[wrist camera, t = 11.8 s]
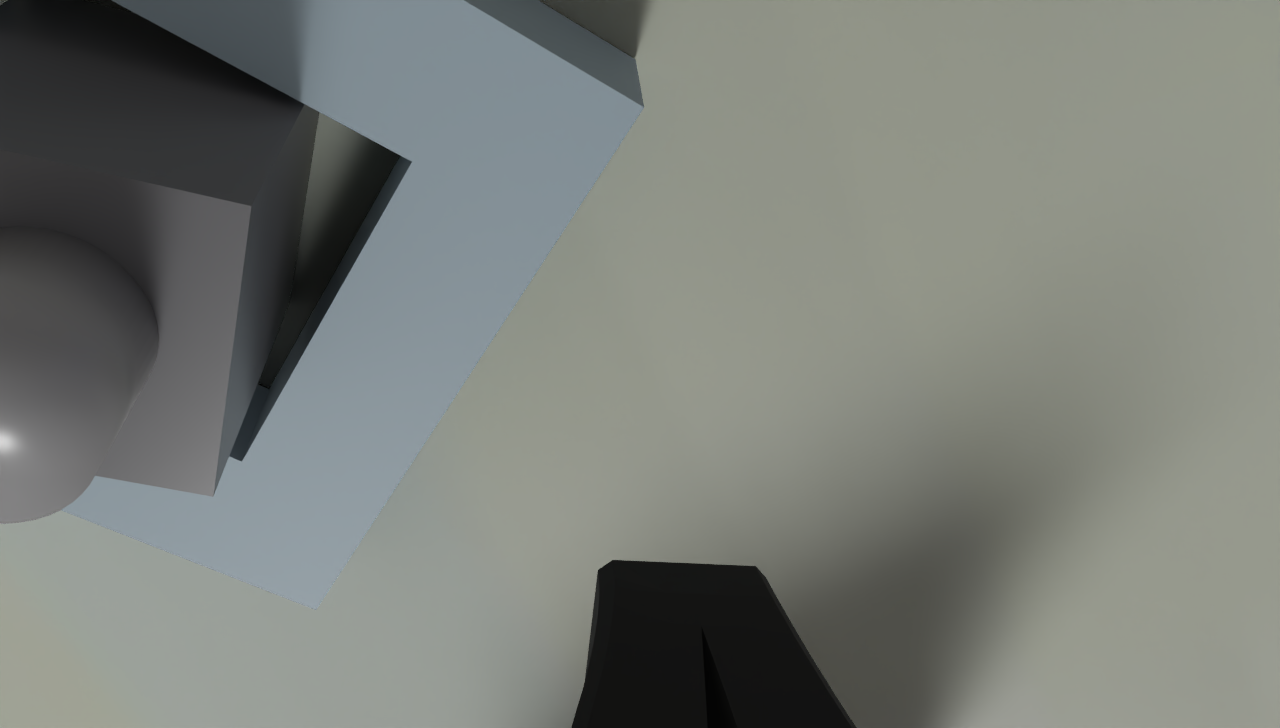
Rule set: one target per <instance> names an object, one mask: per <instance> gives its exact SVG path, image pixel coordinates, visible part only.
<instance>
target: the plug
mask: <svg viewBox="0 0 1280 728" xmlns="http://www.w3.org/2000/svg"><path fill="white" fill-rule="evenodd" d="M318 116H319V112H318V111H317V110H315V109H313V108H311V107H309V106H307V105H305V104H303V103H302V102H300V101H298V100H296V99H294V98H292V97H290V96H289V95H287V94H285V93H283V92H281V91H279V90H277V89H276V88H274V87H272V86H270V85H268V84H266V83H264V82H263V81H261V80H259V79H257V78H255V77H253V76H251V75H249V74H248V73H246V72H244V71H242V70H240V69H238V68H236V67H235V66H233V65H231V64H229V63H227V62H225V61H223V60H222V59H220V58H218V57H216V56H214V55H212V54H210V53H209V52H207V51H205V50H203V49H201V48H199V47H197V46H195V45H194V44H192V43H190V42H188V41H186V40H184V39H182V38H181V37H179V36H177V35H175V34H173V33H171V32H169V31H168V30H166V29H164V28H162V27H160V26H158V25H156V24H154V23H153V22H151V21H149V20H147V19H145V18H143V17H141V16H140V15H138V14H136V13H132V12H128V11H124V10H120V9H116V8H112V7H108V6H104V5H100V4H96V3H92V2H88V1H84V0H8V1H6V2H5V3H3V4H2V5H0V523H1V524H6V523H19V522H25V521H31V520H36V519H39V518H42V517H45V516H49V515H51V514H53V513H55V512H57V511H60V510H62V509H63V508H65V507H66V506H68V505H69V504H71V503H73V502H74V501H75V500H76V499H77V498H78V497H79V496H81V495H82V494H83V492H84V491H85V490H86V489H87V488H88V486H89V485H90V484H91V482H92V480H93V478H94V476H99V477H105V478H111V479H116V480H122V481H127V482H133V483H139V484H144V485H150V486H156V487H161V488H167V489H172V490H178V491H184V492H189V493H195V494H200V495H206V496H212V497H213V496H214V494H215V491H216V488H217V486H218V483H219V481H220V478H221V476H222V473H223V471H224V468H225V466H226V463H227V460H228V458H229V455H230V453H231V450H232V448H233V445H234V443H235V440H236V438H237V435H238V432H239V430H240V427H241V425H242V422H243V420H244V417H245V415H246V412H247V410H248V407H249V404H250V402H251V399H252V397H253V394H254V392H255V389H256V387H257V384H258V382H259V379H260V376H261V374H262V371H263V369H264V366H265V364H266V361H267V359H268V356H269V354H270V351H271V348H272V346H273V343H274V341H275V338H276V336H277V333H278V331H279V328H280V326H281V323H282V320H283V318H284V315H285V313H286V310H287V308H288V305H289V303H290V297H291V290H292V284H293V277H294V271H295V265H296V258H297V252H298V245H299V239H300V232H301V226H302V219H303V213H304V207H305V200H306V194H307V187H308V181H309V174H310V168H311V162H312V155H313V149H314V142H315V136H316V129H317V123H318Z"/></svg>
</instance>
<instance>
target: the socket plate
mask: <svg viewBox="0 0 1280 728" xmlns="http://www.w3.org/2000/svg"><path fill="white" fill-rule="evenodd" d="M112 1H114V2H115V3H117V4H119V5H121V6H123V7H125V8H127V9H128V10H130V11H132V12H134V13H136V14H138V15H140V16H141V17H143V18H145V19H147V20H149V21H151V22H153V23H154V24H156V25H158V26H160V27H162V28H164V29H166V30H168V31H169V32H171V33H173V34H175V35H177V36H179V37H181V38H182V39H184V40H186V41H188V42H190V43H192V44H194V45H195V46H197V47H199V48H201V49H203V50H205V51H207V52H209V53H210V54H212V55H214V56H216V57H218V58H220V59H222V60H223V61H225V62H227V63H229V64H231V65H233V66H235V67H236V68H238V69H240V70H242V71H244V72H246V73H248V74H249V75H251V76H253V77H255V78H257V79H259V80H261V81H263V82H264V83H266V84H268V85H270V86H272V87H274V88H276V89H277V90H279V91H281V92H283V93H285V94H287V95H289V96H290V97H292V98H294V99H296V100H298V101H300V102H302V103H303V104H305V105H307V106H309V107H311V108H313V109H315V110H317V111H318V112H320V113H322V114H324V115H326V116H328V117H330V118H331V119H333V120H335V121H337V122H339V123H341V124H343V125H344V126H346V127H348V128H350V129H352V130H354V131H356V132H358V133H359V134H361V135H363V136H365V137H367V138H369V139H371V140H372V141H374V142H376V143H378V144H380V145H382V146H384V147H385V148H387V149H389V150H391V151H393V152H395V153H397V154H398V155H400V157H399V159H398V161H397V162H396V164H395V166H394V168H393V169H392V171H391V173H390V175H389V177H388V178H387V180H386V182H385V184H384V185H383V187H382V189H381V191H380V193H379V194H378V196H377V198H376V200H375V202H374V203H373V205H372V207H371V209H370V210H369V212H368V214H367V216H366V218H365V219H364V221H363V223H362V225H361V226H360V228H359V230H358V232H357V234H356V235H355V237H354V239H353V241H352V243H351V244H350V246H349V248H348V250H347V251H346V253H345V255H344V257H343V259H342V260H341V262H340V264H339V266H338V267H337V269H336V271H335V273H334V275H333V276H332V278H331V280H330V282H329V284H328V285H327V287H326V289H325V291H324V292H323V294H322V296H321V298H320V300H319V301H318V303H317V305H316V307H315V308H314V310H313V312H312V314H311V316H310V317H309V319H308V321H307V323H306V325H305V326H304V328H303V330H302V332H301V333H300V335H299V337H298V339H297V341H296V342H295V344H294V346H293V348H292V349H291V351H290V353H289V355H288V357H287V358H286V360H285V362H284V364H283V366H282V367H281V369H280V371H279V373H278V374H277V376H276V378H275V380H274V382H273V383H272V385H271V387H270V389H267V388H265V387H262V386H260V385H258V384H257V387H256V389H255V392H254V394H253V397H252V399H251V402H250V404H249V407H248V410H247V412H246V415H245V417H244V420H243V422H242V425H241V427H240V430H239V432H238V435H237V438H236V440H235V443H234V445H233V448H232V450H231V453H230V455H229V458H228V460H227V463H226V466H225V468H224V471H223V473H222V476H221V478H220V481H219V483H218V486H217V488H216V491H215V494H214V496H213V497H212V496H206V495H200V494H195V493H189V492H184V491H178V490H172V489H167V488H161V487H156V486H150V485H144V484H139V483H133V482H127V481H122V480H116V479H111V478H105V477H99V476H94V478H93V480H92V482H91V484H90V485H89V486H88V488H87V489H86V490H85V491H84V492H83V494H82V495H81V496H79V497H78V498H77V499H76V500H75V501H74V502H73V503H71V504H69V505H68V506H66V507H65V508H63V509H62V511H64V512H67V513H69V514H72V515H74V516H77V517H80V518H82V519H85V520H87V521H90V522H92V523H95V524H97V525H100V526H103V527H105V528H108V529H110V530H113V531H115V532H118V533H120V534H123V535H126V536H128V537H131V538H133V539H136V540H138V541H141V542H143V543H146V544H149V545H151V546H154V547H156V548H159V549H161V550H164V551H166V552H169V553H172V554H174V555H177V556H179V557H182V558H184V559H187V560H189V561H192V562H194V563H197V564H200V565H202V566H205V567H207V568H210V569H212V570H215V571H217V572H220V573H223V574H225V575H228V576H230V577H233V578H235V579H238V580H240V581H243V582H246V583H248V584H251V585H253V586H256V587H258V588H261V589H263V590H266V591H269V592H271V593H274V594H276V595H279V596H281V597H284V598H286V599H289V600H291V601H294V602H297V603H299V604H302V605H304V606H307V607H309V608H312V609H314V610H316V609H317V608H318V606H319V605H320V603H321V602H322V600H323V599H324V597H325V596H326V594H327V593H328V591H329V590H330V588H331V586H332V585H333V583H334V582H335V580H336V579H337V577H338V576H339V574H340V573H341V571H342V570H343V568H344V567H345V565H346V563H347V562H348V560H349V559H350V557H351V556H352V554H353V553H354V551H355V550H356V548H357V547H358V545H359V544H360V542H361V540H362V539H363V537H364V536H365V534H366V533H367V531H368V530H369V528H370V527H371V525H372V524H373V522H374V521H375V519H376V517H377V516H378V514H379V513H380V511H381V510H382V508H383V507H384V505H385V504H386V502H387V501H388V499H389V498H390V496H391V494H392V493H393V491H394V490H395V488H396V487H397V485H398V484H399V482H400V481H401V479H402V478H403V476H404V475H405V473H406V471H407V470H408V468H409V467H410V465H411V464H412V462H413V461H414V459H415V458H416V456H417V455H418V453H419V452H420V450H421V449H422V447H423V445H424V444H425V442H426V441H427V439H428V438H429V436H430V435H431V433H432V432H433V430H434V429H435V427H436V426H437V424H438V422H439V421H440V419H441V418H442V416H443V415H444V413H445V412H446V410H447V409H448V407H449V406H450V404H451V403H452V401H453V399H454V398H455V396H456V395H457V393H458V392H459V390H460V389H461V387H462V386H463V384H464V383H465V381H466V380H467V378H468V376H469V375H470V373H471V372H472V370H473V369H474V367H475V366H476V364H477V363H478V361H479V360H480V358H481V357H482V355H483V353H484V352H485V350H486V349H487V347H488V346H489V344H490V343H491V341H492V340H493V338H494V337H495V335H496V334H497V332H498V330H499V329H500V327H501V326H502V324H503V323H504V321H505V320H506V318H507V317H508V315H509V314H510V312H511V311H512V309H513V307H514V306H515V304H516V303H517V301H518V300H519V298H520V297H521V295H522V294H523V292H524V291H525V289H526V288H527V286H528V284H529V283H530V281H531V280H532V278H533V277H534V275H535V274H536V272H537V271H538V269H539V268H540V266H541V265H542V263H543V261H544V260H545V258H546V257H547V255H548V254H549V252H550V251H551V249H552V248H553V246H554V245H555V243H556V242H557V240H558V239H559V237H560V235H561V234H562V232H563V231H564V229H565V228H566V226H567V225H568V223H569V222H570V220H571V219H572V217H573V216H574V214H575V212H576V211H577V209H578V208H579V206H580V205H581V203H582V202H583V200H584V199H585V197H586V196H587V194H588V193H589V191H590V189H591V188H592V186H593V185H594V183H595V182H596V180H597V179H598V177H599V176H600V174H601V173H602V171H603V170H604V168H605V166H606V165H607V163H608V162H609V160H610V159H611V157H612V156H613V154H614V153H615V151H616V150H617V148H618V147H619V145H620V143H621V142H622V140H623V139H624V137H625V136H626V134H627V133H628V131H629V130H630V128H631V127H632V125H633V124H634V122H635V120H636V119H637V117H638V116H639V114H640V113H641V111H642V110H643V108H644V104H643V99H642V93H641V88H640V82H639V76H638V71H637V65H636V60H635V59H634V58H632V57H631V56H629V55H627V54H626V53H624V52H622V51H621V50H619V49H617V48H616V47H614V46H612V45H611V44H609V43H608V42H606V41H604V40H603V39H601V38H599V37H598V36H596V35H594V34H593V33H591V32H589V31H588V30H586V29H584V28H583V27H581V26H580V25H578V24H576V23H575V22H573V21H571V20H570V19H568V18H566V17H565V16H563V15H561V14H560V13H558V12H557V11H555V10H553V9H552V8H550V7H548V6H547V5H545V4H543V3H542V2H540V1H538V0H112Z"/></svg>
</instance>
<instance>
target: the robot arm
mask: <svg viewBox="0 0 1280 728" xmlns="http://www.w3.org/2000/svg"><path fill="white" fill-rule="evenodd" d="M572 728H856V726H855V725H854V723H853V722H852V720H851V719H850V717H849V716H848V714H847V713H846V711H845V710H844V708H843V707H842V705H841V703H840V702H839V700H838V699H837V697H836V696H835V694H834V693H833V691H832V689H831V688H830V686H829V685H828V683H827V681H826V680H825V678H824V677H823V675H822V673H821V672H820V670H819V668H818V667H817V665H816V664H815V662H814V660H813V659H812V657H811V656H810V654H809V652H808V651H807V649H806V647H805V645H804V644H803V642H802V640H801V639H800V637H799V635H798V634H797V632H796V630H795V629H794V627H793V625H792V623H791V622H790V620H789V618H788V617H787V615H786V613H785V611H784V609H783V608H782V606H781V604H780V602H779V601H778V599H777V597H776V595H775V593H774V592H773V590H772V588H771V586H770V584H769V582H768V581H767V579H766V577H765V576H764V575H763V574H762V573H761V572H760V571H759V569H758V568H757V567H756V566H737V565H714V564H691V563H668V562H645V561H622V560H612V561H611V562H609V563H608V564H606V565H605V566H603V567H602V568H600V569H599V570H598V575H597V583H596V592H595V600H594V609H593V618H592V626H591V635H590V643H589V652H588V660H587V669H586V677H585V683H584V687H583V691H582V694H581V697H580V701H579V704H578V707H577V711H576V714H575V718H574V721H573V724H572Z"/></svg>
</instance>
